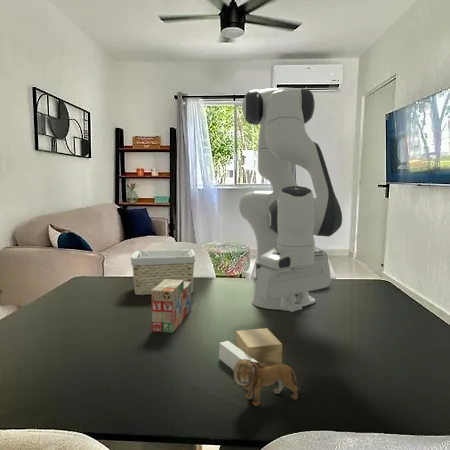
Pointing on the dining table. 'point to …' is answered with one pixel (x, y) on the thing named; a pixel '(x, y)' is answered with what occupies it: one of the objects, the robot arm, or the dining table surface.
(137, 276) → the storage basket
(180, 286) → the stack of blocks
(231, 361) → the fence board
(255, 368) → the lion figurine
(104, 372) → the dining table surface
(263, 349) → the oak block
